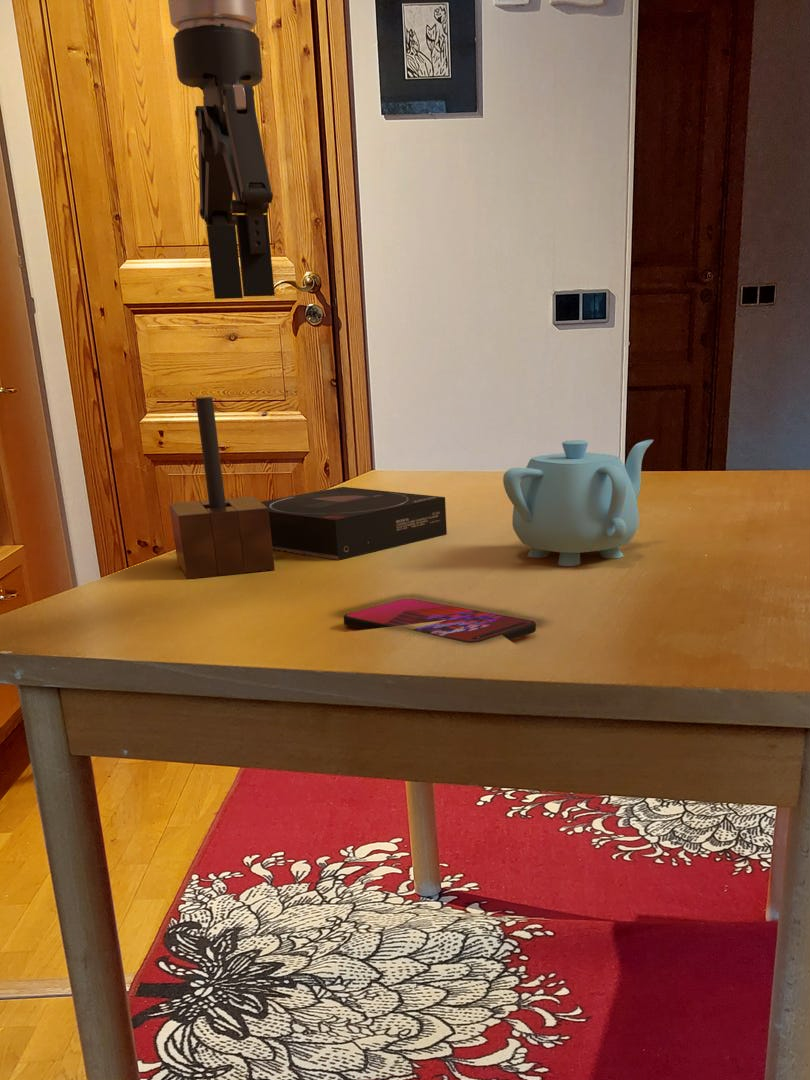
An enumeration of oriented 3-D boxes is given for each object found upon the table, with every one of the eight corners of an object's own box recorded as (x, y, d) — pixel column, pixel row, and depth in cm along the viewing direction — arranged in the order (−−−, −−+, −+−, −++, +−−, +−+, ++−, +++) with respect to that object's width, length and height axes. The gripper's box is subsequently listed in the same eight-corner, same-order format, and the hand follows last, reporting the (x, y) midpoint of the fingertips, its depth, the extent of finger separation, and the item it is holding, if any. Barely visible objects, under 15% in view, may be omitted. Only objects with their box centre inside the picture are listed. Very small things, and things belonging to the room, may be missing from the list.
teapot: (497, 571, 114) (493, 451, 109) (533, 536, 126) (532, 427, 121) (625, 577, 111) (627, 453, 105) (650, 540, 122) (654, 428, 117)
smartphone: (407, 597, 99) (541, 621, 90) (408, 607, 100) (541, 632, 90) (337, 615, 94) (472, 643, 85) (338, 626, 95) (472, 655, 85)
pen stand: (186, 579, 113) (178, 515, 111) (177, 563, 121) (169, 503, 118) (274, 570, 116) (268, 508, 113) (260, 554, 123) (253, 496, 121)
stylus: (218, 568, 117) (196, 398, 111) (216, 565, 119) (194, 397, 112) (234, 567, 118) (213, 397, 111) (232, 564, 119) (211, 396, 112)
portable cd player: (342, 520, 141) (339, 486, 139) (446, 534, 130) (445, 497, 129) (233, 543, 130) (228, 506, 128) (338, 560, 119) (335, 519, 118)
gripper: (292, 1, 94) (315, 293, 103) (229, 59, 115) (253, 298, 124) (198, -5, 91) (231, 296, 100) (151, 56, 112) (181, 300, 121)
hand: (243, 298), depth 112 cm, fingers open, 13 cm apart
